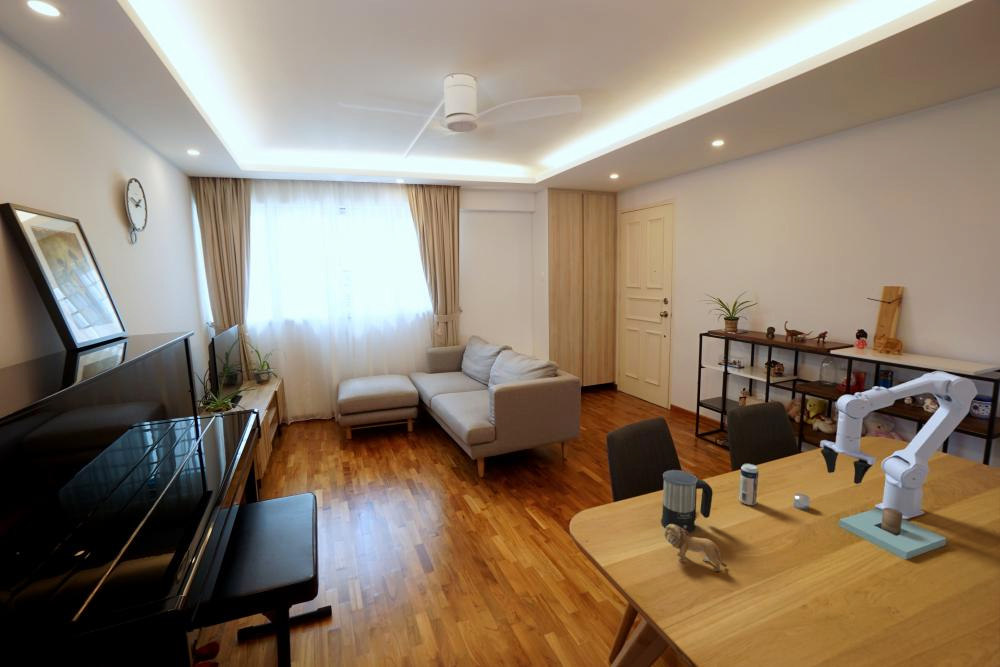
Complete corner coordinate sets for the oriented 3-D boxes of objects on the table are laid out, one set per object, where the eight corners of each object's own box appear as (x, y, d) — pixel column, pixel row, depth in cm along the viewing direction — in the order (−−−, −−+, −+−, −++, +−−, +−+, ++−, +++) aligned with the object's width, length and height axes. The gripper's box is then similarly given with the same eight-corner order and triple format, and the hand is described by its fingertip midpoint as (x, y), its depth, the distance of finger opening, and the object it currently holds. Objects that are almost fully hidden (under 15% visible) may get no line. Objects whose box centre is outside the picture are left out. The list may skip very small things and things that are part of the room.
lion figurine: (663, 562, 112) (665, 529, 110) (662, 549, 117) (664, 518, 115) (728, 574, 107) (730, 540, 106) (724, 561, 112) (727, 528, 111)
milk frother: (675, 537, 122) (678, 486, 120) (639, 508, 137) (641, 463, 135) (715, 527, 127) (719, 478, 125) (676, 500, 141) (679, 456, 139)
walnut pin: (886, 529, 125) (888, 506, 124) (902, 537, 121) (906, 513, 120) (876, 532, 123) (879, 509, 122) (893, 540, 120) (896, 516, 119)
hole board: (876, 514, 133) (877, 508, 132) (945, 544, 118) (946, 538, 117) (838, 525, 127) (839, 519, 126) (905, 559, 112) (906, 552, 112)
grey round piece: (799, 502, 140) (800, 492, 139) (811, 509, 136) (812, 498, 135) (790, 505, 138) (791, 494, 138) (802, 511, 134) (803, 500, 134)
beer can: (758, 507, 137) (761, 470, 135) (741, 505, 138) (744, 469, 136) (752, 499, 142) (755, 463, 140) (736, 497, 143) (739, 462, 141)
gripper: (815, 428, 139) (811, 469, 141) (866, 445, 126) (861, 490, 128) (830, 425, 142) (826, 466, 144) (882, 442, 128) (877, 486, 130)
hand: (844, 477), depth 136 cm, fingers open, 7 cm apart
